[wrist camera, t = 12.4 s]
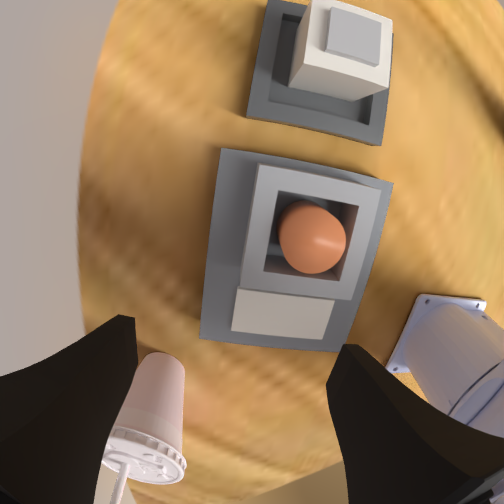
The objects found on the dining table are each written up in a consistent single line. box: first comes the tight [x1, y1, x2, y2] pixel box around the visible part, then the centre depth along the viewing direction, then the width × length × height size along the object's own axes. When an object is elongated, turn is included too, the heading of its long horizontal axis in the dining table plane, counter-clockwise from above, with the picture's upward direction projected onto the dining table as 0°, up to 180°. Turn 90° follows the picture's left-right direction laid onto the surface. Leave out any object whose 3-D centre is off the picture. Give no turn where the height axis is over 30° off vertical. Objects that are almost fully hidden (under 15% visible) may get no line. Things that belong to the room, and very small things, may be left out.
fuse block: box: [288, 0, 392, 102], centre depth 12 cm, size 4×4×6 cm
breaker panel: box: [199, 148, 394, 352], centre depth 17 cm, size 10×12×4 cm
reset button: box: [276, 200, 346, 274], centre depth 14 cm, size 3×3×3 cm
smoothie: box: [101, 352, 187, 504], centre depth 15 cm, size 6×6×14 cm
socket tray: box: [246, 0, 393, 146], centre depth 14 cm, size 8×8×1 cm
